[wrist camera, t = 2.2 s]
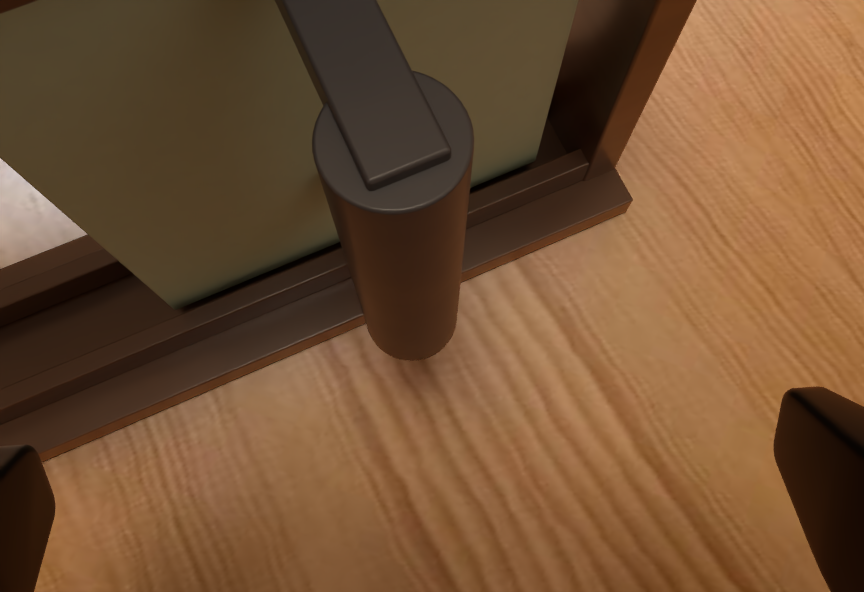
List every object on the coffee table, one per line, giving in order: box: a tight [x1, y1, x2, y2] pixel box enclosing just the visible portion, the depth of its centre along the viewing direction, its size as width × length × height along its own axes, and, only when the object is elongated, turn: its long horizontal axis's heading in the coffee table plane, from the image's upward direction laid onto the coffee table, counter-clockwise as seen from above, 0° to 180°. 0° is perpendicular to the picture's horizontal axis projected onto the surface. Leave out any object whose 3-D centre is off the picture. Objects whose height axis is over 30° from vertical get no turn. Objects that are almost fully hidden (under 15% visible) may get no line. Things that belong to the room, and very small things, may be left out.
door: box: [0, 0, 578, 361], centre depth 14 cm, size 6×10×12 cm, turn 114°
